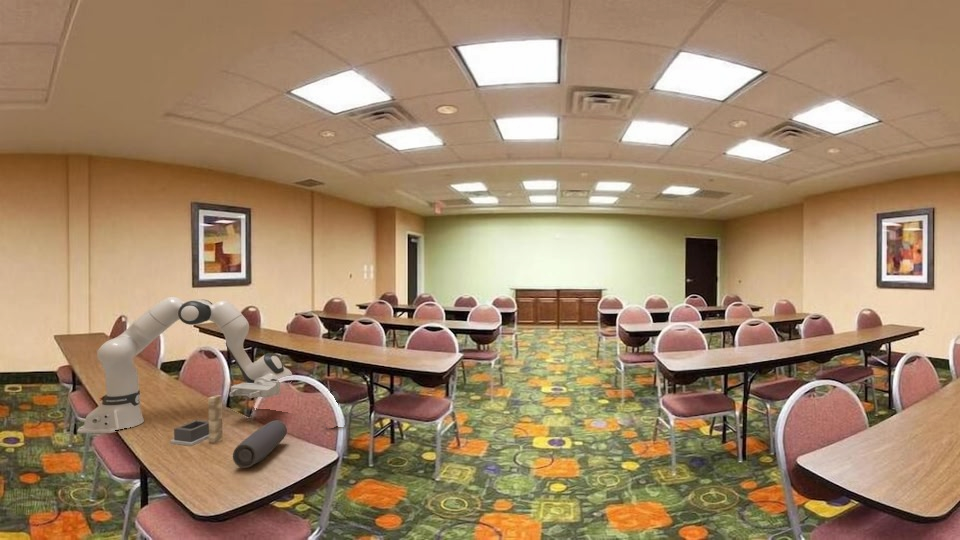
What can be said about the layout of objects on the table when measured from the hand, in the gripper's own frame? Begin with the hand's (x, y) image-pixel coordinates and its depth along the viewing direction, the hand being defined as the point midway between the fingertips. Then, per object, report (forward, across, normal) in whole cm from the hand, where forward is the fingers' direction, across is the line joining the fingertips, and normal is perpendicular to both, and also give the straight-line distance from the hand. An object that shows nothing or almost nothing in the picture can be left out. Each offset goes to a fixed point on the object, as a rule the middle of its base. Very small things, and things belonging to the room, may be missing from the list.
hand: (239, 395), depth 188 cm
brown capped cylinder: (-13, +35, +15) cm, 40 cm away
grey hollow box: (+12, -11, +14) cm, 22 cm away
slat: (+12, 0, +15) cm, 19 cm away
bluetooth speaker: (+19, +27, +15) cm, 37 cm away
